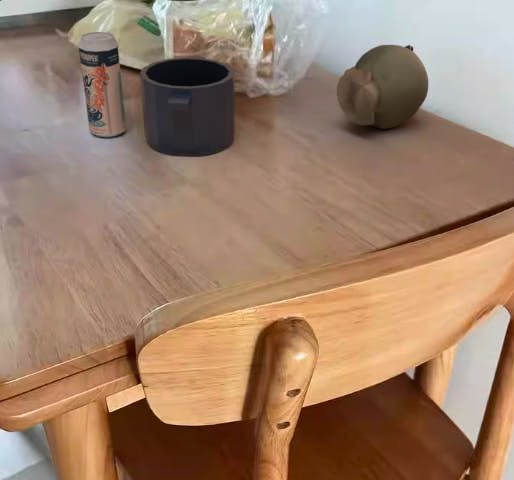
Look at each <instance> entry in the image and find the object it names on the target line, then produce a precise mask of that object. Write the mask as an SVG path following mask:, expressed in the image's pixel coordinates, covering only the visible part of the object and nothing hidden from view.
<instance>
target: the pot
mask: <svg viewBox="0 0 514 480" xmlns="http://www.w3.org/2000/svg"><path fill="white" fill-rule="evenodd" d="M235 75H236V73H235V69H234V68H232V66H230V65H229V64H227V63H224V62H222V61H219V60H215V59H210V58H206V57H205V56H186V57H184V56H183V57H173V58H166V59H161V60H158V61H154V62H151V63H149V64H148V65H145V66H144V67H142V69H141V71H140V73H139V80H140V93H141V94H140V95H141V104H142V116H143V127H144V129H143V130H144V138H145V141H146V145H148V146H149V147H150V148H151V149H152V150H154V151H156V152H157V153H160V154H163V155H167V156H173V157H183V158H184V157H185V158H194V157H195V158H196V157H204V156H210V155H211V156H212V155H214V154H215V155H216V154H218V153H221V152H223V151H225V150H227V149H229V148H230V147H231V146H232V145H233V143H234V141H235V134H236V96H235V94H236V93H235V92H236V82H235V81H236V79H235V77H236V76H235Z"/></svg>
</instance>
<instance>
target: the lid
mask: <svg viewBox="0 0 514 480" xmlns="http://www.w3.org/2000/svg"><path fill="white" fill-rule="evenodd" d="M168 1H170V2H195V1H197V2H198V0H168Z"/></svg>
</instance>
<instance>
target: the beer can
mask: <svg viewBox="0 0 514 480" xmlns="http://www.w3.org/2000/svg"><path fill="white" fill-rule="evenodd" d="M79 41H80V42H79V43H78V45H77V47H78V53H79V62H80V68H81V69H80V70H81V76H82V77H81V78H82V83H83V90H84V91H83V93H84V98H85V107H86V114H87V121H88V122H87V123H88V130H89V132H90V133H91V134H93V135H96V136H97V137H99V138H114V137H118V136H120V135H122V133H124V132H125V131H126V130H127V125H126V124H127V123H126V114H125V104H124V103H125V102H124V95H123V94H124V93H123V84H122V73H121V63H120V54H119V42H118V41H117V39H116V38H115V36H114V34H112V33H110V32H106V31H105V32H104V31H93V32H87V33H84V34H82V35H81V37H80V40H79Z"/></svg>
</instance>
